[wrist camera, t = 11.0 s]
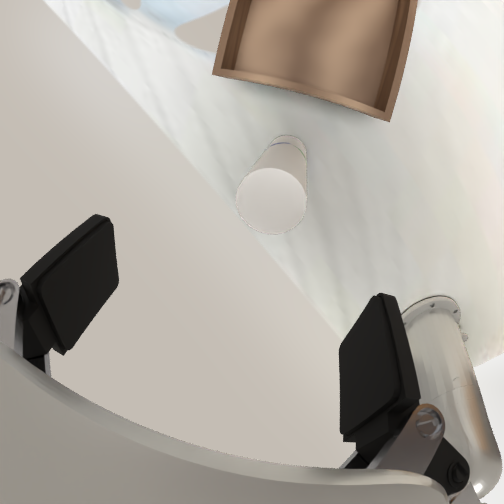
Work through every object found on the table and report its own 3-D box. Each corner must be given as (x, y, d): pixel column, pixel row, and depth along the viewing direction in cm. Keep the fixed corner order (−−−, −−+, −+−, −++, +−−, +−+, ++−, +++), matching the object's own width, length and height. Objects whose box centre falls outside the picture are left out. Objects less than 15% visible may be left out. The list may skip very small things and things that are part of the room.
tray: (392, 9, 17) (419, -16, 9) (366, 115, 24) (389, 122, 17) (264, -24, 17) (249, -59, 10) (238, 80, 25) (211, 74, 18)
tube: (296, 178, 30) (287, 244, 17) (261, 162, 30) (226, 217, 17) (312, 145, 28) (319, 187, 15) (276, 129, 27) (250, 156, 15)
